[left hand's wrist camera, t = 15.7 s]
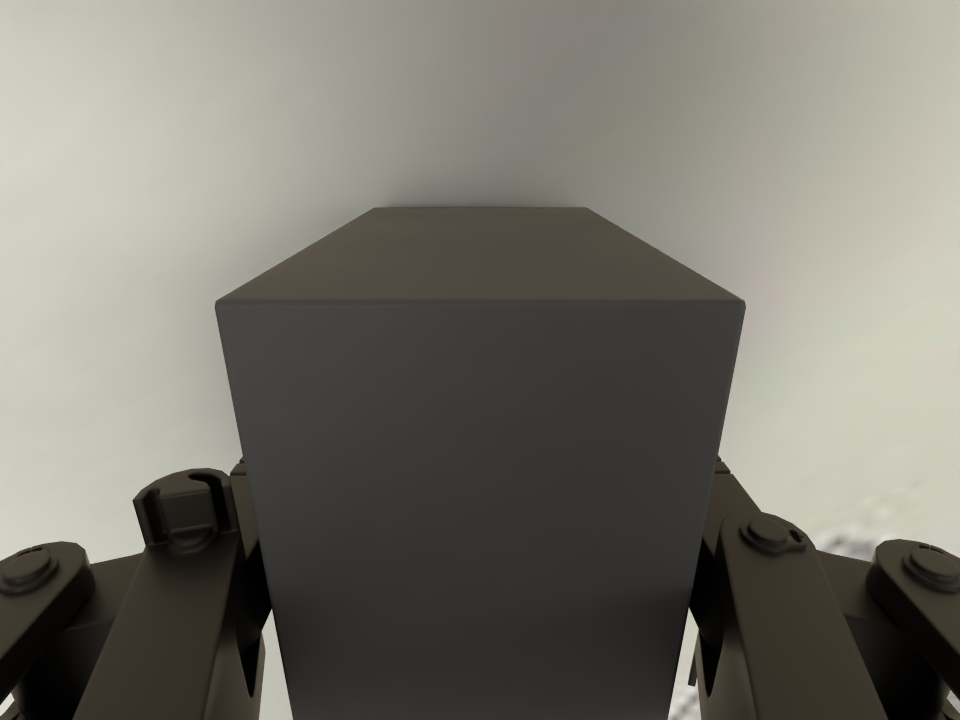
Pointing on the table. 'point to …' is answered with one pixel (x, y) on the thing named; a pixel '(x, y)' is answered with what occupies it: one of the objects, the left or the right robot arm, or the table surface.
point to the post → (480, 461)
